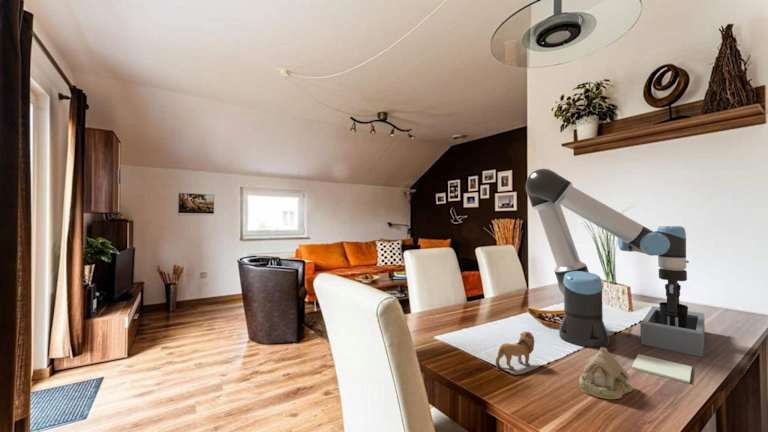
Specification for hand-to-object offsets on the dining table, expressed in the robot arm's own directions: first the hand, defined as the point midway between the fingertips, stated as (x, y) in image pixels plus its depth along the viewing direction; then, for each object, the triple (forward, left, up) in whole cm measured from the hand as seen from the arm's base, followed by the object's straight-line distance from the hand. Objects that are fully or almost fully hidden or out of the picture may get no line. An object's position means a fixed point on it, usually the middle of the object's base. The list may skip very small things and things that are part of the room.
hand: (674, 332), depth 114 cm
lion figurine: (-31, -61, -2) cm, 68 cm away
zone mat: (-1, -34, -2) cm, 34 cm away
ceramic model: (-10, -58, -3) cm, 58 cm away
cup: (0, 0, -2) cm, 2 cm away
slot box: (0, +1, -2) cm, 2 cm away
